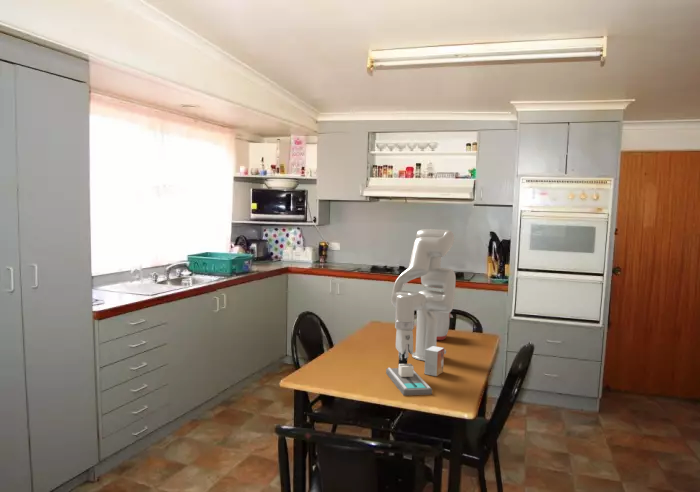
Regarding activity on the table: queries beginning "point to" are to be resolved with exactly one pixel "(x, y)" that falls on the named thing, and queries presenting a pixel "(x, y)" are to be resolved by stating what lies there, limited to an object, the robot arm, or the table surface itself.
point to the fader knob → (406, 370)
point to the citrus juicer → (442, 324)
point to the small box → (434, 360)
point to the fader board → (409, 383)
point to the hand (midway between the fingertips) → (402, 369)
